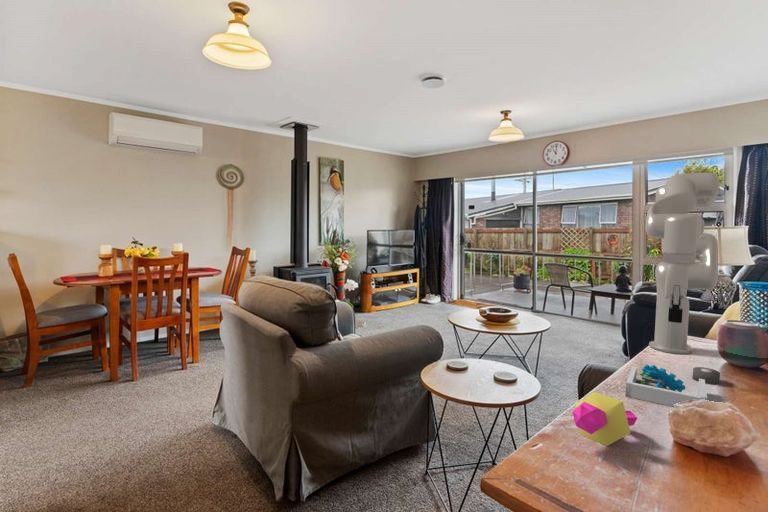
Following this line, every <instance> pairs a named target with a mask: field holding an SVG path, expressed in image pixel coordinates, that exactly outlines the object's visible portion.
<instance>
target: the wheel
mask: <svg viewBox="0 0 768 512" xmlns="http://www.w3.org/2000/svg"><path fill="white" fill-rule="evenodd" d="M699 379H705V385H714V386H715V385H720V382H721V381H720V379H721V372H720V371H718V370H716V369H712V368H708V367H701V366H700V367H699V366H698V367H696V366H695V367H693V368H692V380H693V381H696V382H698V383H699Z"/></svg>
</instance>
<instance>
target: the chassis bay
mask: <svg viewBox="0 0 768 512" xmlns="http://www.w3.org/2000/svg"><path fill="white" fill-rule="evenodd" d="M637 374H638V367H637V366H631V368H630V372H629V374H628V377H627V380H626V383H625V397H627V396H629V397H628V398H632V397H633V398H632V399H637V400H640V401H641V400H642V401H646V402H649V403H650V402H651V403H655V404H658V405H659V404H660V405H664V406H669V407H672V406H673V405H674V404H676V403H679V402H682V401H686V400H693V399H705V400H707V401H708V394H707V387H706V385H707V384H705V379H699V382H698V384H697V385H698V386H697V387H698V388H697V394H698V395H696V394H692V393H687V392H679V391H677V390H676V391H672V390H670V389H668V388H667V389H666V388H664V387H662V388H661V387H660V388H658V387H655V386H652V385H648V384H647V385H646V384H644V385H643V384H640V383H637V378H638V377H637Z"/></svg>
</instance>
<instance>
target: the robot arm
mask: <svg viewBox="0 0 768 512" xmlns="http://www.w3.org/2000/svg"><path fill="white" fill-rule="evenodd" d="M720 187H721V184H720V179H719V177H718V176H717V175H716V174H715V173H714V172H694V173H693V172H692V173H690V172H689V173H680V174H679V173H678V174H675V175H672V176H671V177H669V178H668V179H667V180H666V181H665V184H664V185H661V186H660V187H658V188H657V189H656V192H655V202H654V203H652V205H650V207H649V208H648V210H647V213H646V218H645V233H646V235H647V236H648V237H649V238H651V239H656V240H657V239H658V240H659V239H661V253H662V261H661V262H659V263H658V264H657V265H656V267H655V270H654V274H655V275H654V276H655V284H656V302H655V303H656V305H655V306H656V307H655V321H654V322H655V323H654V324H655V325H654V326H655V327H654V340H652V341H649V343H648V346H649V347H650V348H652V349H654V350H657V351H660V352H665V353H669V354H680V355H685V354H691V353H693V348H692V347H691V346H689V345H688V333H689V332H688V331H689V318H690V317H689V315H690V300H689V298H688V296H687V294H688V290H699V291H700V290H701V291H710V290H713V289H715V288H716V287H717V285H718V282H719V281H718V280H719V244H718V240H717V238H716V236H715V235H713V234H711V233H708V232H704V231H705V227H706V225H705V220H704V219H703V217H702V216H701V215H699V214H697V213H690V212H691V211H693V210H694V209H695V208H704V207H705V208H706V207H710V206H713V204H714V203H716V200H717V198H718V196H719V192H720V189H721V188H720Z"/></svg>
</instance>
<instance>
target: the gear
mask: <svg viewBox="0 0 768 512" xmlns="http://www.w3.org/2000/svg"><path fill="white" fill-rule="evenodd" d="M639 375H640V376H641V382H640V383H639V384H643V385H645V383H650V384H655V386H654V387H658V388H661V387H662V388H663V389H666V388H667V389H668V390H672V391H677V392H682V391H685V390H686V388H687V387H686V386H685V384H684V381H683V380H681V379H679V378H677V379H676V377H677V375H675V374H674V373H672V372H670V373H669V374H668V373H667V369H666V368H663V367H660V368H658V367H657V365H655V364H651V365H649V364H645V365H644V366H642V369H641V371H640V372H639ZM682 393H683V392H682Z"/></svg>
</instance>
